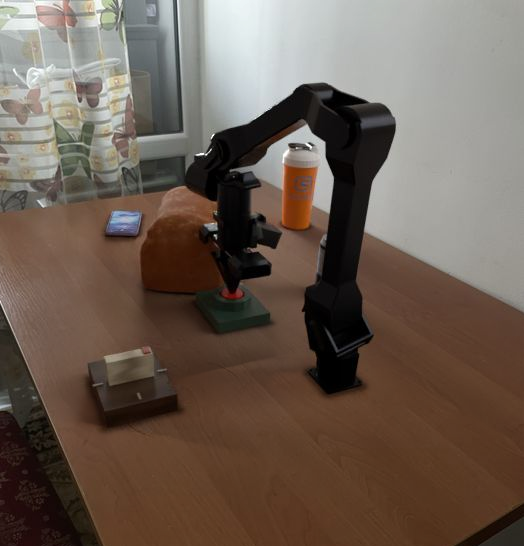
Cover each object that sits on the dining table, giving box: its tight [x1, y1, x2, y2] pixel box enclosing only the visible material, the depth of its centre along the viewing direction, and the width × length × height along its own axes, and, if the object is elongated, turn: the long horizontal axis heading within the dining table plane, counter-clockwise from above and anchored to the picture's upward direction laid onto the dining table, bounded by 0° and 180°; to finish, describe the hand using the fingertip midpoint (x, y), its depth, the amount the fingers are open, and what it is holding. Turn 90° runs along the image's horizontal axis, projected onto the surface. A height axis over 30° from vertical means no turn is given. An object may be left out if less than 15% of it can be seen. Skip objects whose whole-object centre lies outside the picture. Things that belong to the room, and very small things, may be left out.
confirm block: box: [194, 283, 271, 334], centre depth 101 cm, size 12×10×4 cm
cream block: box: [103, 345, 154, 386], centre depth 78 cm, size 6×2×4 cm, turn 116°
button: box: [221, 288, 243, 300], centre depth 100 cm, size 4×4×2 cm
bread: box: [139, 185, 225, 294], centre depth 113 cm, size 17×24×15 cm
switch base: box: [86, 349, 179, 429], centre depth 80 cm, size 12×11×3 cm
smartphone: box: [105, 209, 143, 237], centre depth 135 cm, size 7×1×15 cm
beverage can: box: [314, 233, 327, 284], centre depth 106 cm, size 6×6×12 cm
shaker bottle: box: [281, 141, 321, 230], centre depth 135 cm, size 9×9×20 cm
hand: (232, 292), depth 99 cm, fingers closed, pressing on button
